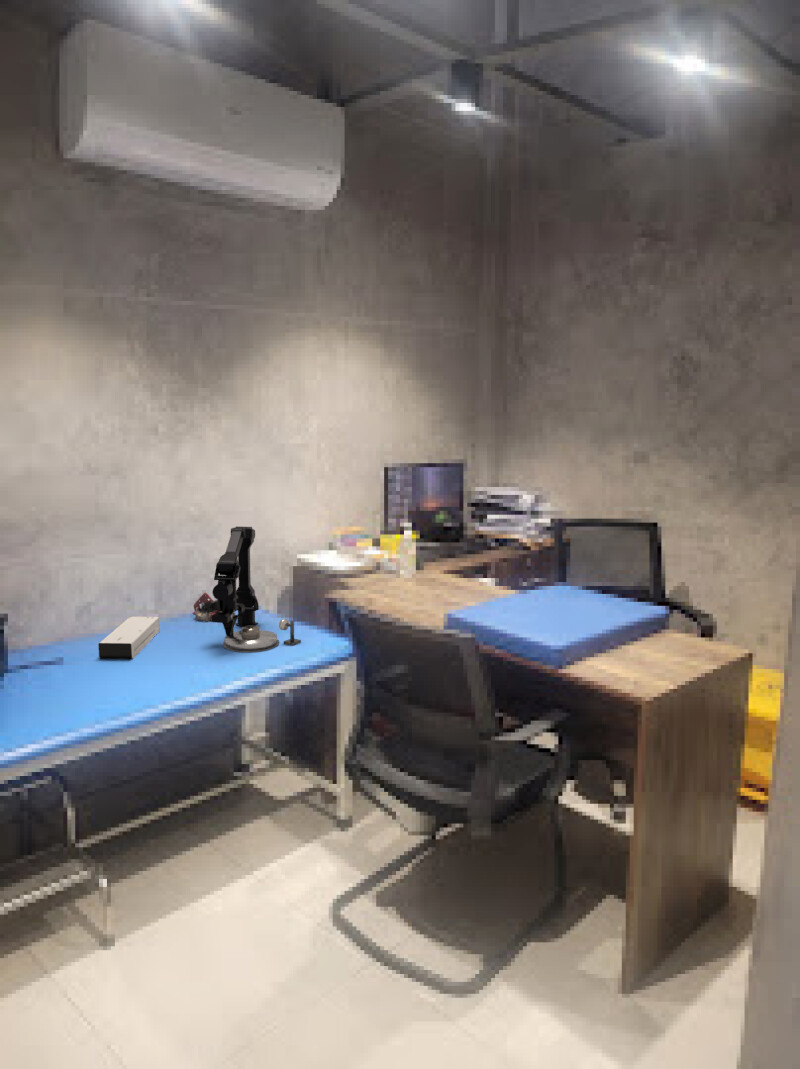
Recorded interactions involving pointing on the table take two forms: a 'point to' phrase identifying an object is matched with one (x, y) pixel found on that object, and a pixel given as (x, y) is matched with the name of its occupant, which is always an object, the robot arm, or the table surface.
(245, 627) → the cover
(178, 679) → the table surface
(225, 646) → the turntable base
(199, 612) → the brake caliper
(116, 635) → the laminator
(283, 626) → the stand
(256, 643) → the turntable
